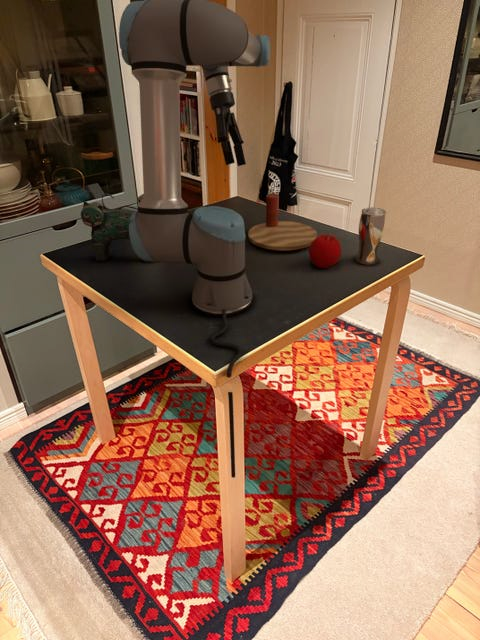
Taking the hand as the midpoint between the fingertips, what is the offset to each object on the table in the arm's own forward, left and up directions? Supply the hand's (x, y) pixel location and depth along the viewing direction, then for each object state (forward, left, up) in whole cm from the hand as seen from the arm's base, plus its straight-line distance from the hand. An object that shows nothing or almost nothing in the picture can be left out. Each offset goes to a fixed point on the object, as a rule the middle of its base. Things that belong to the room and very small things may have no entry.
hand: (236, 164), depth 148 cm
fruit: (-36, -14, -22) cm, 44 cm away
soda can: (+9, +28, -22) cm, 36 cm away
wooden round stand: (-15, -10, -20) cm, 27 cm away
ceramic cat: (-11, +40, -22) cm, 47 cm away
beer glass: (-38, -27, -22) cm, 52 cm away
